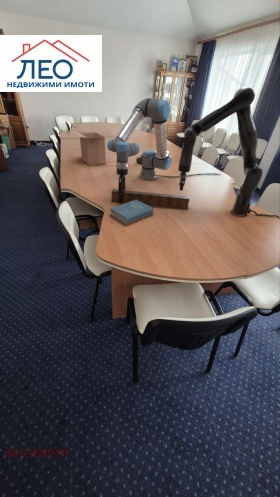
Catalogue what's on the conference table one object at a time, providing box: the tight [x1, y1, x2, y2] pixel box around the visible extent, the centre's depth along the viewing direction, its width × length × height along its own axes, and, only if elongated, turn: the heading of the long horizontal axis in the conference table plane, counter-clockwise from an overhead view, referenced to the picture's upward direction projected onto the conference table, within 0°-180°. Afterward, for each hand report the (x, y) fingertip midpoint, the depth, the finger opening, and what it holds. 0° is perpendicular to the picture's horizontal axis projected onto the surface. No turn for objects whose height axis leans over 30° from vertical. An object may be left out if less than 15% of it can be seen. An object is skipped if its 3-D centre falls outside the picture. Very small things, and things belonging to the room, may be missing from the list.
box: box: [70, 129, 114, 166], centre depth 229 cm, size 44×36×27 cm
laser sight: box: [135, 154, 143, 165], centre depth 237 cm, size 10×22×10 cm, turn 78°
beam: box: [111, 188, 190, 210], centre depth 157 cm, size 54×4×8 cm, turn 84°
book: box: [109, 200, 154, 226], centre depth 142 cm, size 23×16×5 cm
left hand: (121, 199), depth 159 cm, fingers open, 9 cm apart
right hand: (180, 187), depth 150 cm, fingers open, 8 cm apart
